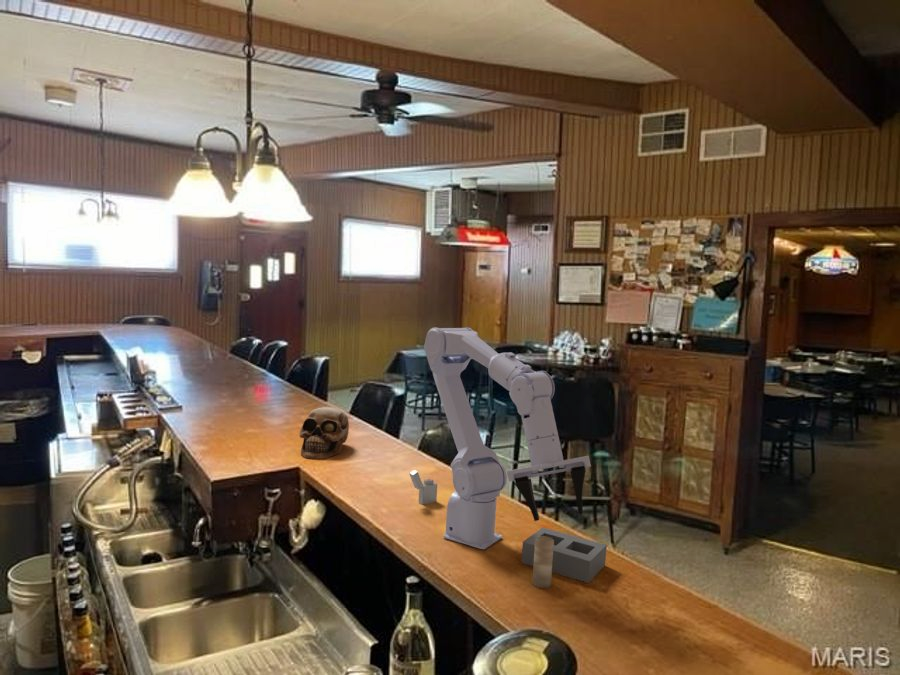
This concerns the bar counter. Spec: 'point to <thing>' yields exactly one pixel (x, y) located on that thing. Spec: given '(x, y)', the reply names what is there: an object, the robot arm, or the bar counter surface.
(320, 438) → the brown skull
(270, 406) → the bar counter surface
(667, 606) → the bar counter surface
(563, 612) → the bar counter surface
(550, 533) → the socket block
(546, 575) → the dowel
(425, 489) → the lighter
